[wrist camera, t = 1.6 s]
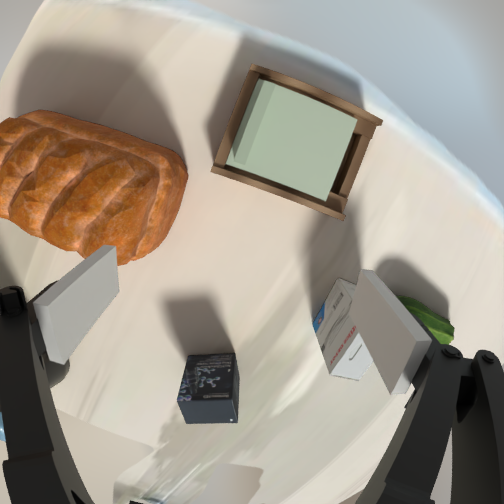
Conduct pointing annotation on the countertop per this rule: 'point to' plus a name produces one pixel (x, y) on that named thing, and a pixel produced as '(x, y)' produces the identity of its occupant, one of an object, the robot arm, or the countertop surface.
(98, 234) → the bread
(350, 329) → the ink box
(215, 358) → the box
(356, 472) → the countertop surface
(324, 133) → the lid
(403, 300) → the vegetable
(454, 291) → the countertop surface
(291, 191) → the pencil box
